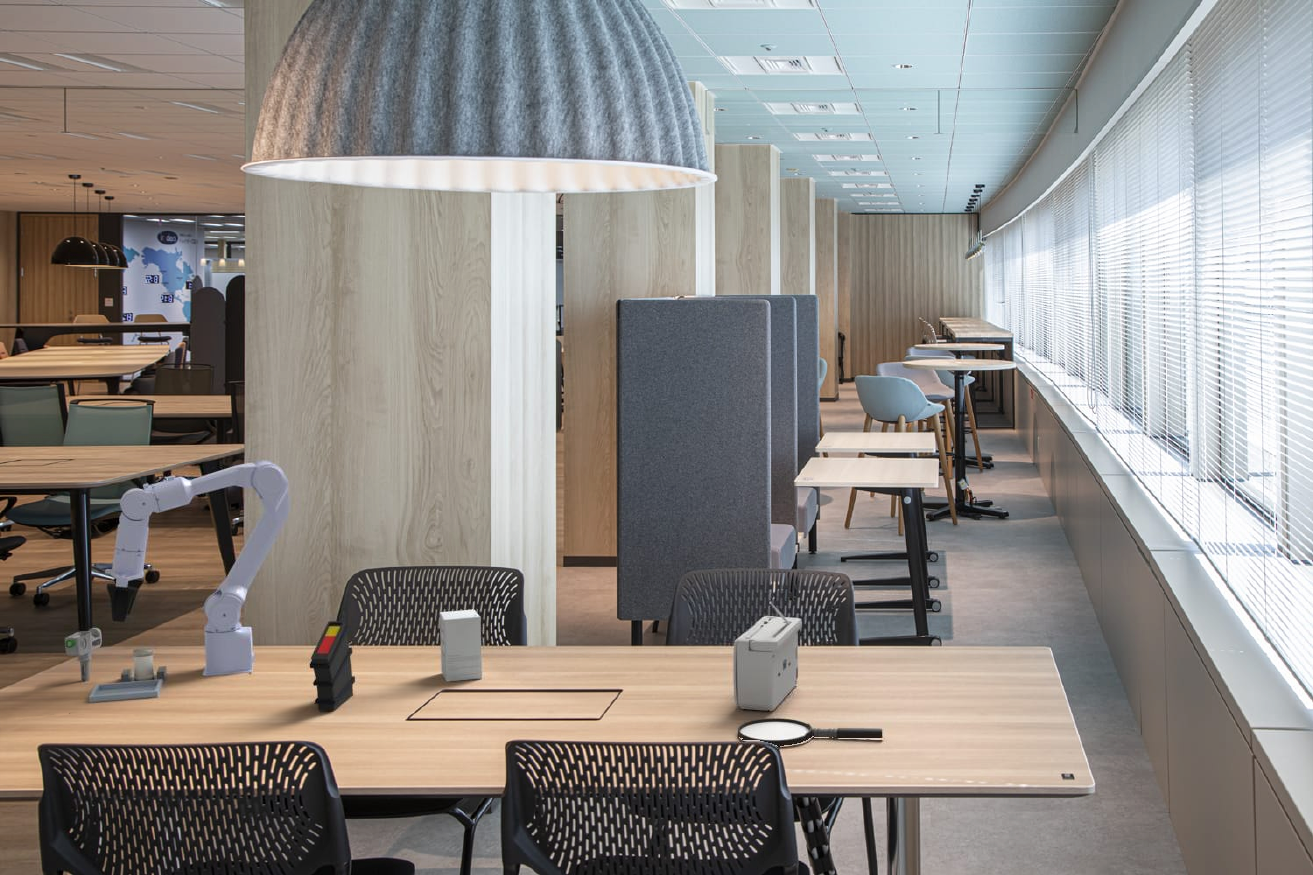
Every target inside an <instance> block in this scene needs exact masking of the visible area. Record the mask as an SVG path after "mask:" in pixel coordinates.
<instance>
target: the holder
mask: <svg viewBox="0 0 1313 875" xmlns="http://www.w3.org/2000/svg"><path fill="white" fill-rule="evenodd" d="M167 673H168V671H167V665H162V666H158V668H157V670H156V674H154V679H153V680H159V679H163V682H166V680H167V678H168V676H169V674H167ZM132 675H133V673H132V668H126V669H125V668H124V669H123V671H122V672H121V674H120V683H121V682H134V676H132Z"/></svg>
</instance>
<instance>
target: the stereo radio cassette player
mask: <svg viewBox="0 0 1313 875" xmlns="http://www.w3.org/2000/svg"><path fill="white" fill-rule="evenodd" d="M768 603H769V605H771V606H772V608H773V609H774V611H775V612H776V613H777V614H778V615H779V616H775V615H774V616H771V615H770V616H769V615H765V616H763V617H761V618H759V620H758V621H757V622H755V623H754V624H753V625H752V626H751V627H749V629H746V631H744V633H742V634H741V635H740V636H739V637H738V638H736V639H735V640H734V644H733V663H732V664H733V665H732V666H733V668H732V670H733V672H732V673H733V674H732V676H733V678H732V679H733V680H732V681H733V695H734V697H733V698H734V704H735V706H739V708H740V709H742V710H743V709H746V710H756V711H768V710H770V711H772V712H773V711H775V710H776V708H777V707H778V706H779V705H780V703H782V701H783V700H784V699H785V698H786V697H787V696H788V695H789V693H790V692H792V690H793V689H794V688H795V687H796V686H797V684H798V677H799V656H798V655H799V653H798V652H799V651H798V650H799V649H798V648H799V645H798V644H799V641H798V640H799V639H798V635H799V634H798V633H799V630H801V629H802V625H803V623H802V619H801V618H799V617H788V616H785V615H783V613H782V612H780V610H779V609H778V608H777V607H776V606H775V605H774V604H773V602H772V601H769V602H768ZM770 711H769V712H770Z"/></svg>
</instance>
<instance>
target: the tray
mask: <svg viewBox="0 0 1313 875" xmlns="http://www.w3.org/2000/svg"><path fill="white" fill-rule="evenodd" d="M163 684H164V681H163V679H159V680H146V681H134V682H121V681H120V682H111V683H109V682H108V683H97V684H95V686H94V688H93V689H92V691H91V692H90V694H89V696H88V703H89V704H93V703H104V702H116V701H117V702H118V701H129V700H142V699H152V698H153V699H154V698H156V699H157V698H158V697H159V695H160V693H161V690H162V688H163V686H164V685H163Z"/></svg>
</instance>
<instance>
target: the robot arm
mask: <svg viewBox="0 0 1313 875" xmlns="http://www.w3.org/2000/svg"><path fill="white" fill-rule="evenodd" d="M233 486H236V487H239V488H240V487H241V488H245V489H251V486H252V488H253V490H254V491H255V492H256V493H257V494H258V497H259V500H260V502H261V505H262V508H263V512H262V513H261V515H260V516H259V519H258V521H257V522H256V524H255V526H254V527H253V530H252V532H251V533H250V535H249V536H248V539H247V540H246V542H245V544H244V545H243V547H242V549H241V551H240V553H239V555H238V556H237V558H236V560H235V562H234V563H233V565H232V567H231V569H230V570H229V572H228V574H227V576H226V578H225V579H223V581H222V582H221V583H220V584H219V586H218V588H217V590H216V591H214V592H213V593H212V594H210V595H209V596H208V597H207V598H206V600H205V602H204V603H203V611H204V614H205V616H206V618H207V620H208V621H207V623H206V625H205V626H204V627H203V635H204V637H203V638H204V655H205V657H204V658H205V665H204V669H203V672H202V676H203V677H207V676H208V677H209V676H210V677H211V676H219V675H236V674H247V673H249V674H252V673H253V668H254V663H255V653H254V649H253V648H254V646H253V631H252V630H253V628H252V627H251V626H242V623H241V622H240V620H241V612H242V611H241V610H242V607H243V605H244V603H245V601H246V596H247V593H248V590H249V588H250V586H251V585H252V582H253V581H254V579H255V577H256V575H257V573H259V571H260V568H261V567H262V564H263V563H264V561H265V560H266V557H267V556H268V554H269V552H270V550H271V549H272V547H273V545H274V543H275V541H276V540H277V538H278V535H279V534H280V532H281V530H282V529H283V527H284V525H285V523H286V521H287V520H288V518H289V516H290V513H291V504H290V493H289V487H290V482H289V480H288V479H287V477H286V475H285V472H284V471H283V469H282V468H281V467H280V466H279V465H277V464H275V463H274V462H272V461H269V460H266V459H265V460H264V459H263V460H258V461H256V462H254V463H253V462H247V463H242V464H238V465H234V466H230V467H228V468H227V467H226V468H224V469H222V470H218V471H214V472H212V473H208V474H205V475H202V476H199V477H196V478H193V479H186V478H185V477H183V476H177V477H176V476H175V475H169V476H167V480H164V481H160V482H156V483H151V484H149V483H144V484H143V485H142V487H143V488H130V489H128V490H127V491H126V492H125V493H123V495H122V497H121V498H120V500H119V506H120V510H121V511H122V512H121V513H120V516H119V524H118V525H117V531H116V539H115V546H114V554H113V561H112V567H111V568H110V569H109V568H105V570H104V573H105V574H107V575H110V576H112V577H113V582H114V583H107V584H106V590H107V593H108V595H109V599H110V605H111V606H110V607H111V618H112V621H113V622H121V623H123V622H125V620H126V618H127V616H129V615H130V614H131V612H132V609H133V606H134V604H135V600H136V597H137V595H138V593H139V591H140V588H141V587H142V585H143V583H144V582H145V579H144V578H143V577H145V576H144V574H145V572H144V567H145V560H146V553H147V547H148V546H147V545H148V539H149V530H150V529H149V520H150V516H151V515H152V513H156V514H157V513H162V512H165V511H169V510H172V509H175V508H178V507H182V506H185V505H189V504H190V503H191V501H192V500H193V498H194V497H195V496H197V495H201V494H205V493H209V492H213V491H217V490H220V489H224V488H227V487H228V488H229V487H233Z"/></svg>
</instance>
